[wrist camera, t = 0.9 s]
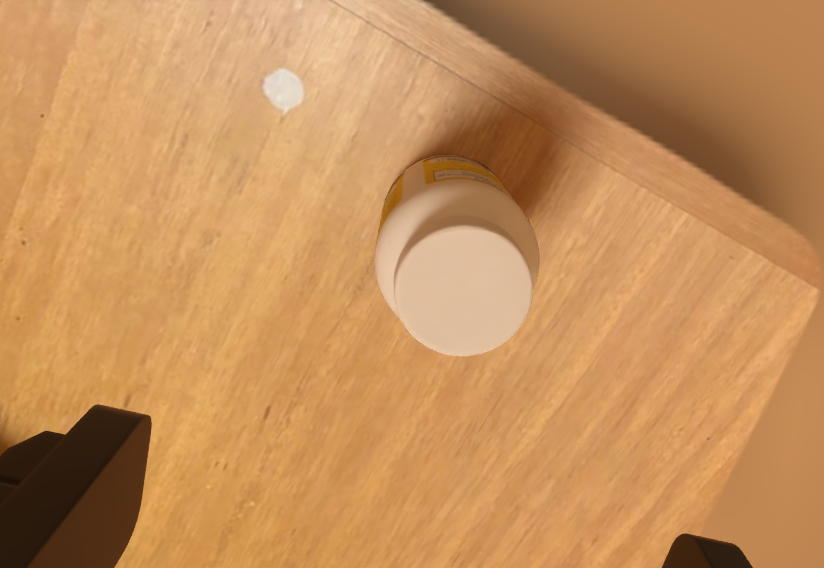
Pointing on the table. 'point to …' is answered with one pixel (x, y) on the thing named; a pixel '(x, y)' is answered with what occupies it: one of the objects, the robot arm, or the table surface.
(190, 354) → the table surface
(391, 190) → the supplement bottle
